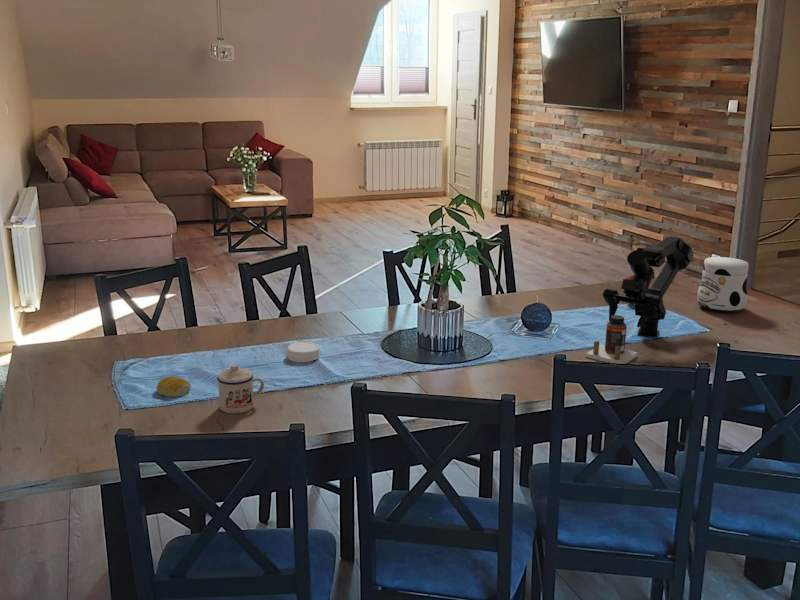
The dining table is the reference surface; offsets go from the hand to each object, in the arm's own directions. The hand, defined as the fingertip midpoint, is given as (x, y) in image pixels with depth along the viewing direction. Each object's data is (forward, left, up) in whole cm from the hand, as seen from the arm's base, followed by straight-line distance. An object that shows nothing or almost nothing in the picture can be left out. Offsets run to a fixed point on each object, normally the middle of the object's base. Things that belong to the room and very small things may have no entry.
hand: (623, 323), depth 252 cm
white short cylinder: (+43, -90, -9) cm, 100 cm away
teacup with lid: (+82, -88, -9) cm, 121 cm away
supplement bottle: (+5, -2, -8) cm, 10 cm away
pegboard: (+7, -2, -9) cm, 11 cm away
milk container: (-61, +30, -9) cm, 69 cm away
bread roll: (+80, -111, -9) cm, 137 cm away
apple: (-56, -1, -9) cm, 57 cm away
